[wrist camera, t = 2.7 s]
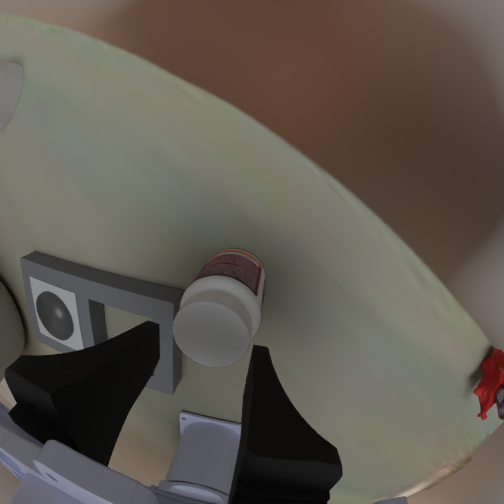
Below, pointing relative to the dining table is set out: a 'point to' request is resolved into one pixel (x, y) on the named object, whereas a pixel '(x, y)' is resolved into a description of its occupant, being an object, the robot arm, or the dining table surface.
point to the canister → (9, 331)
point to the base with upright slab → (9, 89)
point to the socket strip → (97, 309)
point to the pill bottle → (221, 309)
